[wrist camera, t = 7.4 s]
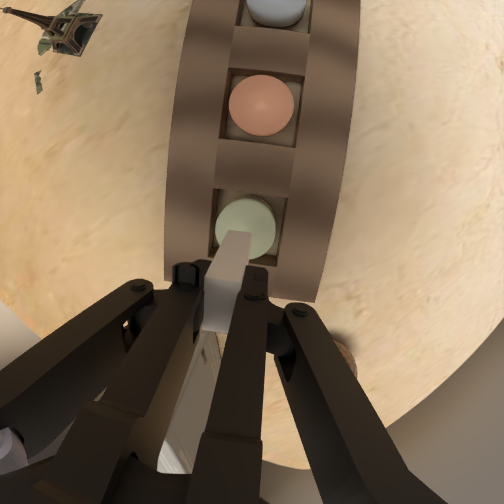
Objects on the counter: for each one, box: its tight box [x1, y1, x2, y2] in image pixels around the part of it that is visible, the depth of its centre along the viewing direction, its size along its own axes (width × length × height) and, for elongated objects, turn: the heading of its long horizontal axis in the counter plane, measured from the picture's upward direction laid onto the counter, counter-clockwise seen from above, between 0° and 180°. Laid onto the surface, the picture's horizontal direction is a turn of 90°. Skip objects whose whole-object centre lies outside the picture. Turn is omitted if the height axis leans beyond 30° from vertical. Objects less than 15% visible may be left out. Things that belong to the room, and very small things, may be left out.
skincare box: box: [157, 324, 221, 474], centre depth 24 cm, size 8×7×16 cm
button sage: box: [215, 195, 276, 259], centre depth 24 cm, size 5×5×3 cm
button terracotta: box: [229, 75, 294, 136], centre depth 20 cm, size 5×5×3 cm
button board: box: [164, 0, 360, 303], centre depth 21 cm, size 32×14×2 cm, turn 173°
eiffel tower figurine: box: [0, 0, 102, 94], centre depth 13 cm, size 15×10×13 cm
